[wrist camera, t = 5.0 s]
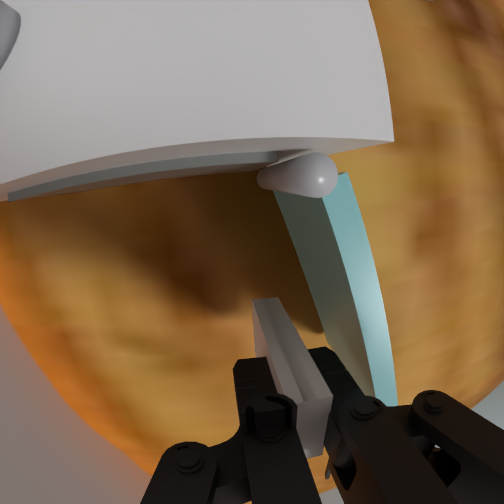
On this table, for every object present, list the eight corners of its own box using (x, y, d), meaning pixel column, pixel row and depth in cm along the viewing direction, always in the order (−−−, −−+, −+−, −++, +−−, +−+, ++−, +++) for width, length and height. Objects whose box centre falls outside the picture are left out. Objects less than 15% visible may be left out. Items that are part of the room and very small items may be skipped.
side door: (252, 172, 13) (287, 161, 6) (295, 156, 13) (368, 133, 6) (318, 343, 15) (370, 435, 8) (351, 327, 15) (418, 408, 8)
